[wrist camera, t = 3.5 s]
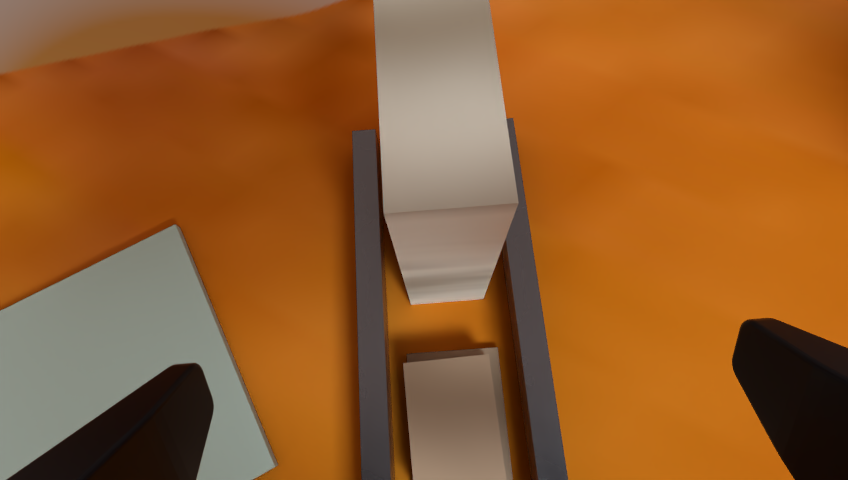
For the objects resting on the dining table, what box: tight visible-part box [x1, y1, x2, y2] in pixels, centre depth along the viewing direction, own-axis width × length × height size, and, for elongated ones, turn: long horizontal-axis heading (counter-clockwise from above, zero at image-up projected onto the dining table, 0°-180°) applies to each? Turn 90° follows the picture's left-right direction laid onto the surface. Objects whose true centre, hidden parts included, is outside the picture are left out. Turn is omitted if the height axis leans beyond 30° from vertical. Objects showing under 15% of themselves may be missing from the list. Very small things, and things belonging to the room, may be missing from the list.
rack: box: [352, 118, 568, 480], centre depth 19 cm, size 18×7×2 cm, turn 4°
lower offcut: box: [407, 347, 513, 480], centre depth 19 cm, size 5×4×1 cm
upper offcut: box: [403, 354, 506, 480], centre depth 18 cm, size 4×3×1 cm
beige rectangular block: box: [373, 0, 519, 305], centre depth 17 cm, size 7×3×10 cm, turn 4°
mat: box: [0, 224, 278, 480], centre depth 19 cm, size 11×11×1 cm
